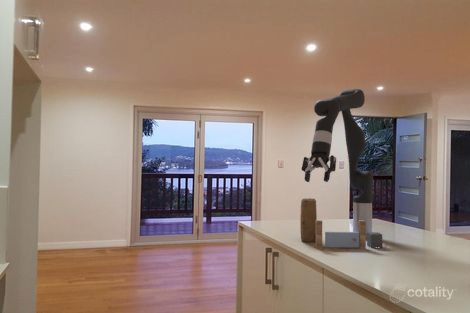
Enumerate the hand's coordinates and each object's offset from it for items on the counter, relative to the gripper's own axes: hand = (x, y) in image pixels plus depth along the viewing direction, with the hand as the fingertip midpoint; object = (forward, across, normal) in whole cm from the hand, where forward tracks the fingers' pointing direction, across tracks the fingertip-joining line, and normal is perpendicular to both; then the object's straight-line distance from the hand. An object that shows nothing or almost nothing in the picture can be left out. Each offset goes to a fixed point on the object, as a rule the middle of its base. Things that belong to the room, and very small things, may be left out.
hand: (316, 181), depth 154 cm
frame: (+21, +2, -29) cm, 36 cm away
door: (+21, +1, -29) cm, 36 cm away
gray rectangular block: (+17, -8, -42) cm, 47 cm away
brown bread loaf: (+19, +21, -34) cm, 44 cm away
